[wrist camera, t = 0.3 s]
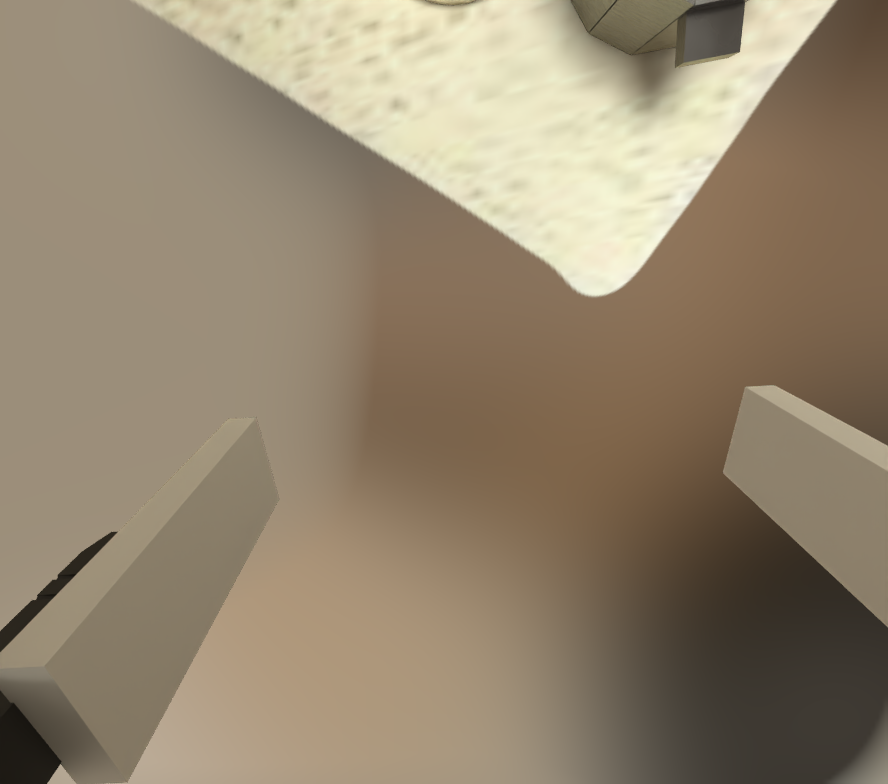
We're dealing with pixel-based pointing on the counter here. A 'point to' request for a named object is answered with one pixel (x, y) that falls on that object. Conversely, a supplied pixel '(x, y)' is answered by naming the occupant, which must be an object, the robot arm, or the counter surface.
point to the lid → (451, 2)
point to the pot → (667, 26)
